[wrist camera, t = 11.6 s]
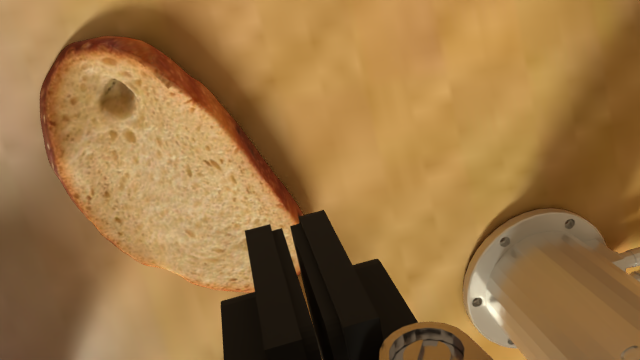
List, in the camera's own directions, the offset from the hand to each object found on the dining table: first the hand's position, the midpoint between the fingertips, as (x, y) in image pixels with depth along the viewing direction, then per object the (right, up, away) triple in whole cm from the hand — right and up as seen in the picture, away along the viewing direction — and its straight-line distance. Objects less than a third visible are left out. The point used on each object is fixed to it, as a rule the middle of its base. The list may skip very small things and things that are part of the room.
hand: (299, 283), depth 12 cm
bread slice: (-8, +3, +27) cm, 29 cm away
